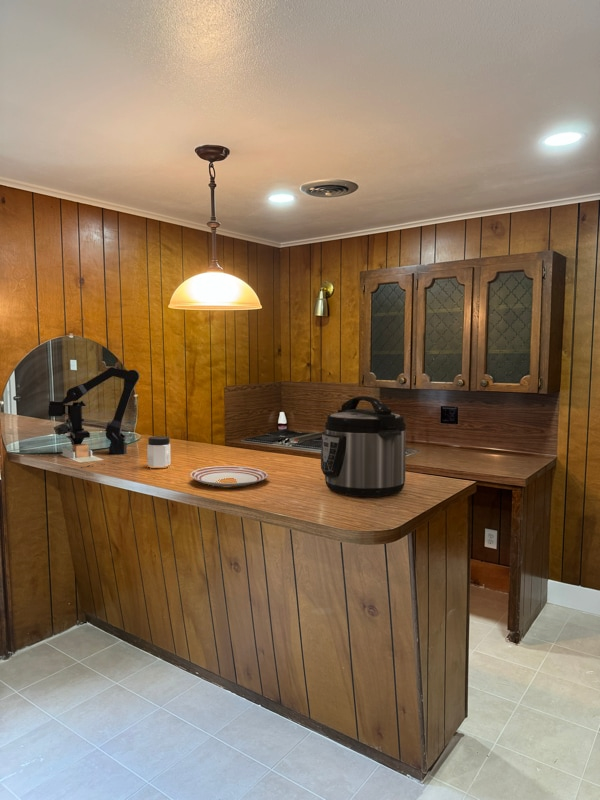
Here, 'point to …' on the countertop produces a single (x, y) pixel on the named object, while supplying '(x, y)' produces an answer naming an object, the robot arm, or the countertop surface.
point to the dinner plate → (228, 475)
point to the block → (80, 450)
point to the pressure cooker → (364, 450)
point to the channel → (71, 455)
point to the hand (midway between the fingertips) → (75, 452)
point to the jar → (158, 451)
